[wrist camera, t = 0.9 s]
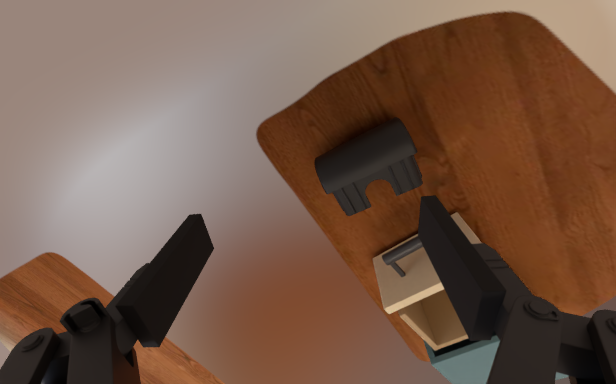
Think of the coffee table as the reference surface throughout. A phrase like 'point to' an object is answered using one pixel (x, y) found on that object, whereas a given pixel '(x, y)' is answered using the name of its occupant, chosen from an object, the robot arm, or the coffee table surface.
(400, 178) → the end cap
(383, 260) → the drawer
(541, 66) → the coffee table surface
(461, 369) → the cabinet
